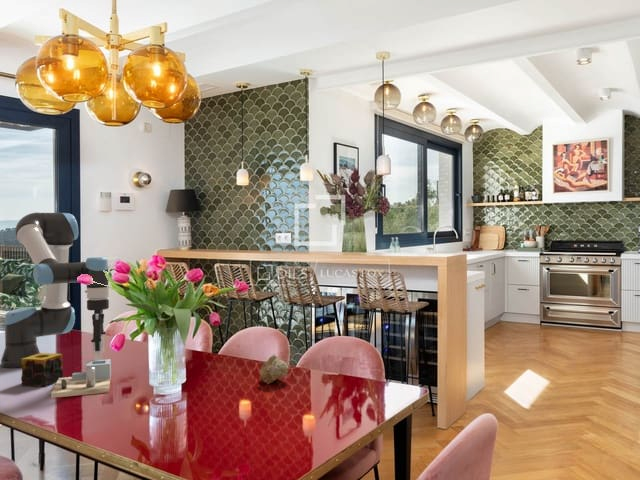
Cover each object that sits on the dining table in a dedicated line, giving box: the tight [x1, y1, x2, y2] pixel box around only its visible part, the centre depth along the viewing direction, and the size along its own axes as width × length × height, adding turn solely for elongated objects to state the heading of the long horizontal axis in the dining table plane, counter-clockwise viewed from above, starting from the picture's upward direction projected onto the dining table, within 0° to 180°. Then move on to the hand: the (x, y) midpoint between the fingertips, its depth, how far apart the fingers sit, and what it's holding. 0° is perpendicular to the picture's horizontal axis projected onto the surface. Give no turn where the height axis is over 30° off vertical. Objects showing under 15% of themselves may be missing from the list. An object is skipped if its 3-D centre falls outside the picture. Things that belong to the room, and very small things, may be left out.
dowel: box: [61, 379, 67, 389], centre depth 185 cm, size 2×2×3 cm
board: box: [50, 375, 112, 399], centre depth 193 cm, size 20×18×2 cm
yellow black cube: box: [20, 352, 64, 388], centre depth 199 cm, size 10×10×10 cm
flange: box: [71, 358, 112, 381], centre depth 199 cm, size 13×8×6 cm, turn 109°
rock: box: [259, 353, 291, 385], centre depth 197 cm, size 12×10×10 cm
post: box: [85, 367, 95, 388], centre depth 188 cm, size 3×3×6 cm
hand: (99, 355), depth 199 cm, fingers open, 13 cm apart
